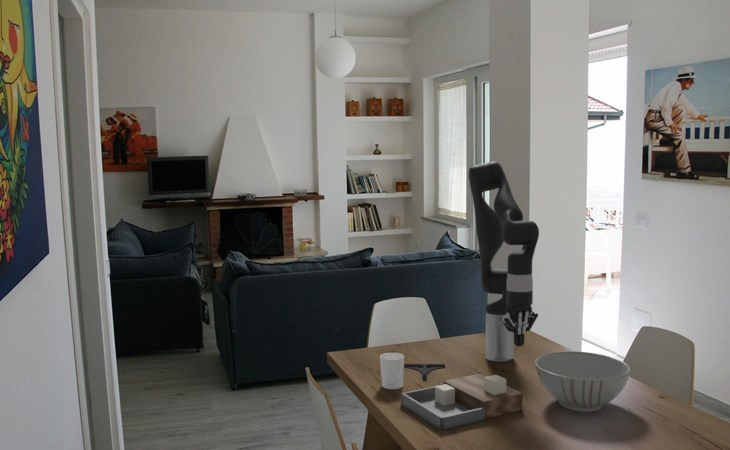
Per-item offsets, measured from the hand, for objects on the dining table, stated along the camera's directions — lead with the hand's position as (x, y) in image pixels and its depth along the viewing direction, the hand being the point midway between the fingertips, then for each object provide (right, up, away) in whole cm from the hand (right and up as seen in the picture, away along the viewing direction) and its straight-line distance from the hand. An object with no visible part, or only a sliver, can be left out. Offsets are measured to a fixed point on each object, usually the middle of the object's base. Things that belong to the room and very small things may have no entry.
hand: (518, 345), depth 194 cm
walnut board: (-11, -18, +2) cm, 21 cm away
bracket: (-25, -16, +30) cm, 42 cm away
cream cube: (-20, -15, +2) cm, 25 cm away
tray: (-24, -18, -5) cm, 30 cm away
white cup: (-37, -17, +17) cm, 44 cm away
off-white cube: (-8, -13, -3) cm, 15 cm away
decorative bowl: (+18, -18, 0) cm, 25 cm away
